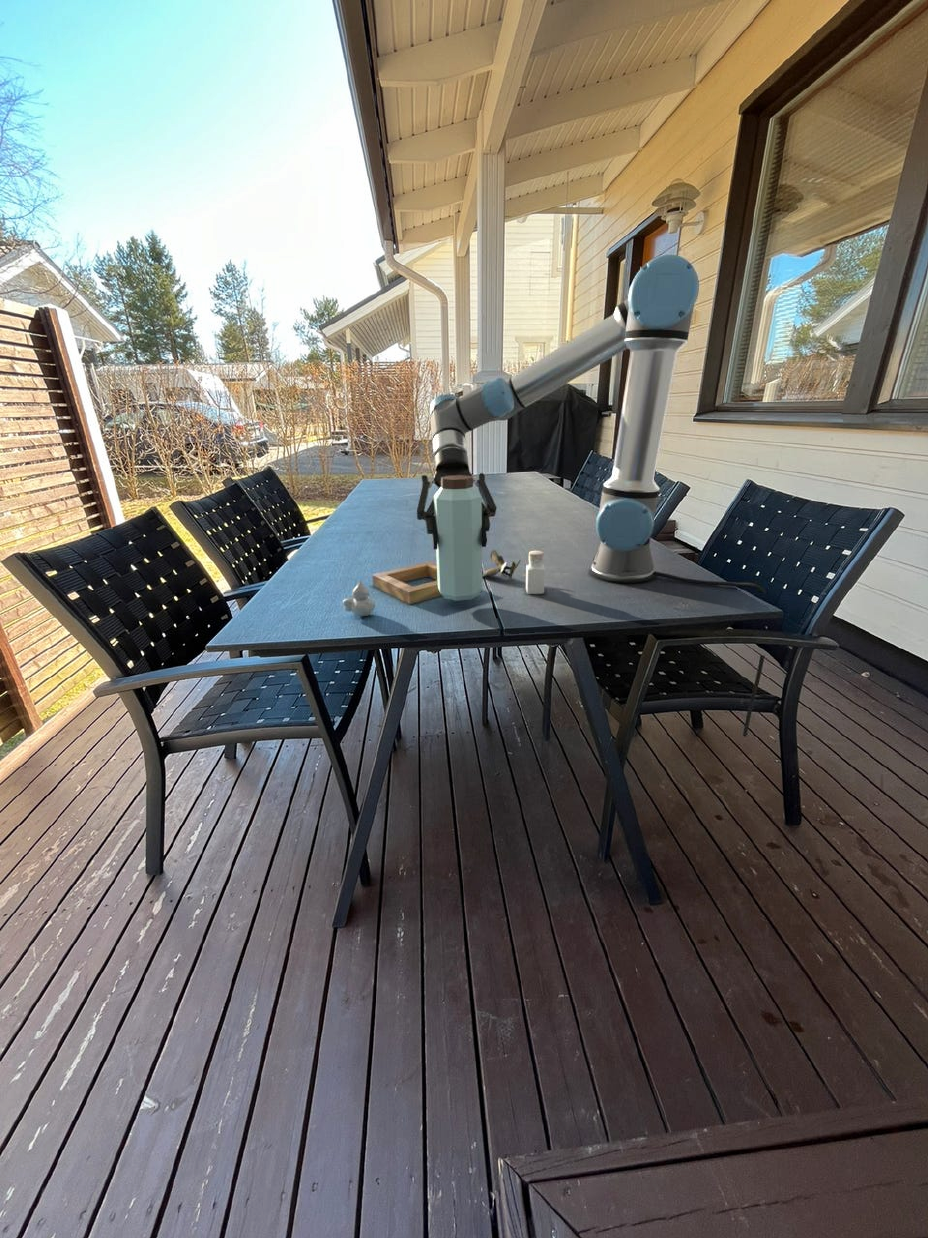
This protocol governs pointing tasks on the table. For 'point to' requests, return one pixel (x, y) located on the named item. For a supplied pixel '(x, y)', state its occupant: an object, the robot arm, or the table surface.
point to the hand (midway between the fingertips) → (460, 544)
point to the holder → (395, 578)
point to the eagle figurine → (500, 566)
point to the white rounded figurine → (360, 601)
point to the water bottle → (458, 538)
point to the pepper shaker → (535, 573)
